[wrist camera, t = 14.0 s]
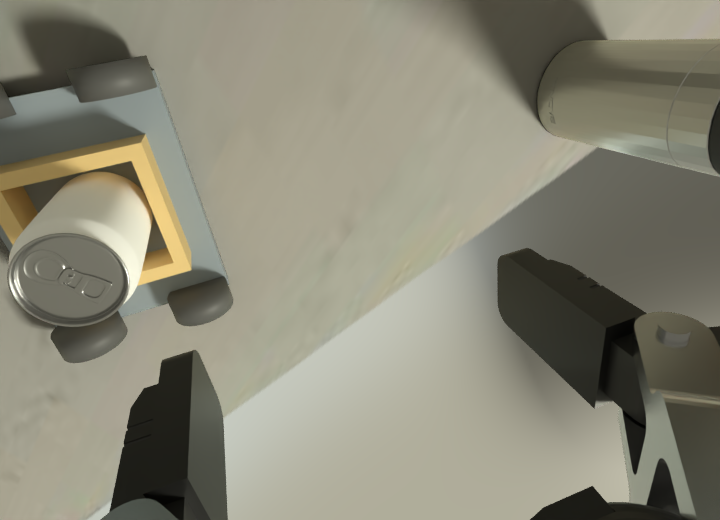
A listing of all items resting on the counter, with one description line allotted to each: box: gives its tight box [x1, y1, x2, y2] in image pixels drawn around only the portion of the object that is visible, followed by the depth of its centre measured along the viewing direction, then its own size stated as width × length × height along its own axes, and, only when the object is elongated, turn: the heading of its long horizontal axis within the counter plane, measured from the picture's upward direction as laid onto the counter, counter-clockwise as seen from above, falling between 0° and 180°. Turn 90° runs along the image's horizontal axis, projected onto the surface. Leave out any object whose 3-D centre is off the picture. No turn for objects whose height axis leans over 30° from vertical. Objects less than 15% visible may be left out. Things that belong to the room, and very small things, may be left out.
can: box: [7, 172, 152, 327], centre depth 29 cm, size 6×6×12 cm
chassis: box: [0, 56, 233, 363], centre depth 33 cm, size 14×20×5 cm
